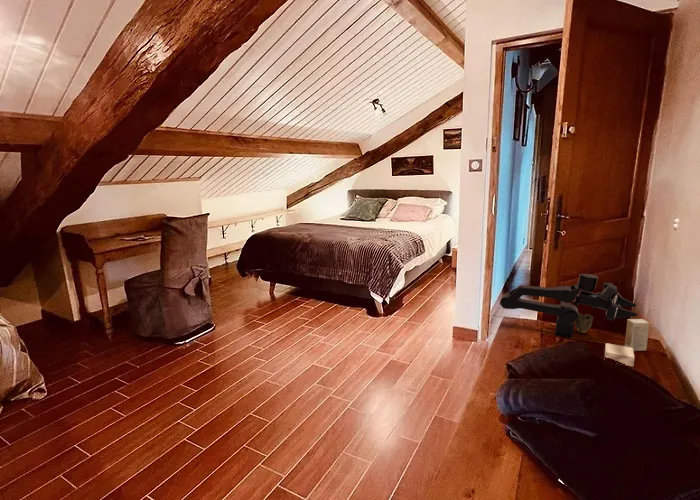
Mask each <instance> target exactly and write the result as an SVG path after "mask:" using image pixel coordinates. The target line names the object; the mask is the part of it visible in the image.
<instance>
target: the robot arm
mask: <svg viewBox="0 0 700 500" xmlns="http://www.w3.org/2000/svg"><path fill="white" fill-rule="evenodd" d="M578 277H579V278H578V282H577V283H576V284H573V285H564V286H561V285H560V286H555V287H545V286H537V285H536V286H532V285H525V284H518V286H517V287H515V288H514V289H512V290H511V291H509V292H506V293H504V294H503V295H502V296H501V298H500V299H499V304H500V306H501V307H502V308H503V309H505V310H519V309H521V310H522V309H523V310H527V311H532V312H538V313H543V314H547V315H548V314H549V315H554V316H556V317H557V318H556V321H555V322H556V323H555V332H554V336H559V337H563V338H564V337H565V338H569V339H571V338H572V337H573V336H574V330H575V324H573V323H574V321H575V320H576V319H577V318H578V313H579V311H578V310H579V309H578V307H579V304H580V305H585V306H589V307H592V309H594V310H597V309H601V310H604V312H605V318H606V319H607V320H610V321H614V320H616V319H623V318H624V319H625V318H631V317H637V315H638V313H636V312H635V311H631V310H628V309H626V308H635V307H637V303H635V302H632V301H631V300H628V299H626V298H624V297H622V296H621V294H620V292H618V286H616V285H615V284H614V283H612V282H604V283H603V285H602V287H603V290H602V292H600V291H597V292H596V293H594V292H593V291H595V290H596V287H597V283H598V280H599V276H597V275H595V274H591V273H580V274H579V276H578ZM522 296H531V297H532V296H533V297H542V298H551V299H553V300H554V299H555V300H557V301H560V304H559V303H558V304H553V303H546V302H541V301H535V300H530V299H523V298H521V297H522Z"/></svg>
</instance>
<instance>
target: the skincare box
mask: <svg viewBox="0 0 700 500" xmlns="http://www.w3.org/2000/svg"><path fill="white" fill-rule="evenodd" d="M649 328H650V322H649V321H647V320H645V319H643V318H628V319H627V320H626V328H625V329H626V330H625V339H624V340H625V341H624V346H625V347H630V348H633V351H634V352H636V351H637V352H638V351H640V352H641V351H646V352H647V347H648V337H649V336H648V335H649V330H650V329H649Z"/></svg>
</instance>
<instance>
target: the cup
mask: <svg viewBox="0 0 700 500" xmlns="http://www.w3.org/2000/svg"><path fill="white" fill-rule="evenodd" d="M593 320H594V316H592V315H591V314H590V313H589V314H587V313H585V314H582V312H578V318H577V319H576V320H575V321H573V323H574V327H575V328H577V332H578V333H580V334H586V333H587V332H588V330H590V329H591V328H592V324H593V322H594V321H593Z"/></svg>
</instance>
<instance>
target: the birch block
mask: <svg viewBox="0 0 700 500" xmlns="http://www.w3.org/2000/svg"><path fill="white" fill-rule="evenodd" d="M634 352H635V351H633V348H630V347H625V345H619V344H614V343H613V344H612V343H607V342H606V343H605V346H604V358H605V357H606V358H610V359H613V360H615V361H618V362H620V363H623V364H625V365H624V366H628V367H634V366H635V365H634V363H635V353H634ZM623 364H622V365H623Z"/></svg>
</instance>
